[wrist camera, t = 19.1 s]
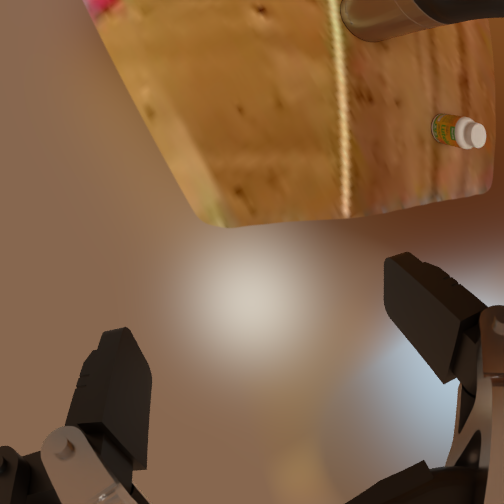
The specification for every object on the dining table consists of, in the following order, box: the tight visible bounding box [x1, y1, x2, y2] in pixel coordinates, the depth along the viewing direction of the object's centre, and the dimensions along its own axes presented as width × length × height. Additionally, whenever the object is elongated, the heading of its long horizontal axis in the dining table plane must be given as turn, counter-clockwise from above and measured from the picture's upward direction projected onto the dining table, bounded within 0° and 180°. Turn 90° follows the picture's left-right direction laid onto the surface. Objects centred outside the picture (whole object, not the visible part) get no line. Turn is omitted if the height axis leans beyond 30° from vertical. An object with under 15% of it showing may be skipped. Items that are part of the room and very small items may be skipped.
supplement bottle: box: [431, 114, 486, 149], centre depth 43 cm, size 5×5×10 cm
